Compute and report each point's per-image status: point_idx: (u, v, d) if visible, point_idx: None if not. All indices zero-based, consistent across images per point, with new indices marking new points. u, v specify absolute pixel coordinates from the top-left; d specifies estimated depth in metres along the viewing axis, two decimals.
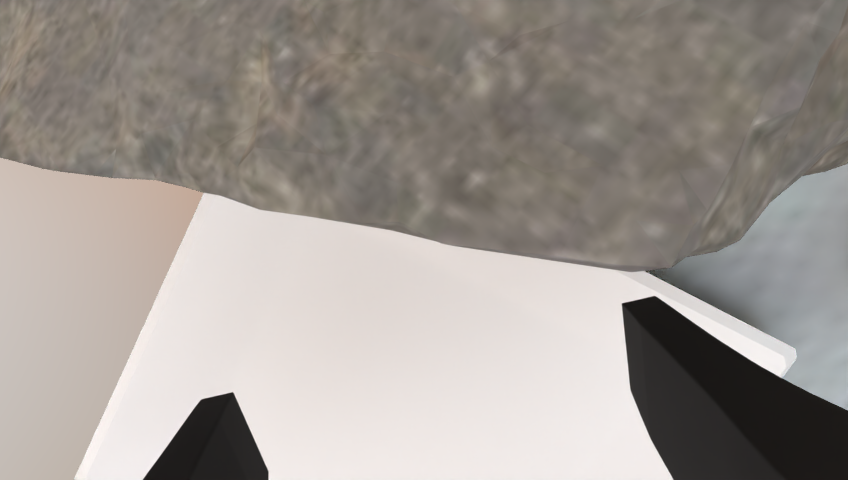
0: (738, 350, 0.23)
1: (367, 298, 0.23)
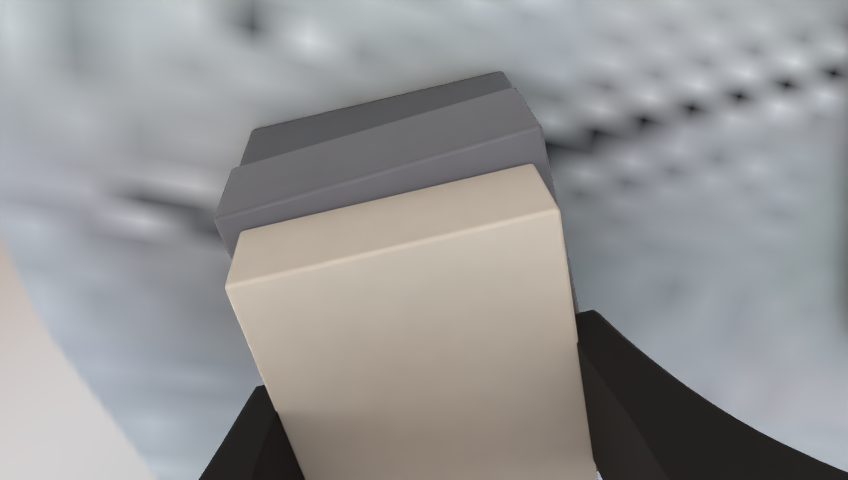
0: None
1: None
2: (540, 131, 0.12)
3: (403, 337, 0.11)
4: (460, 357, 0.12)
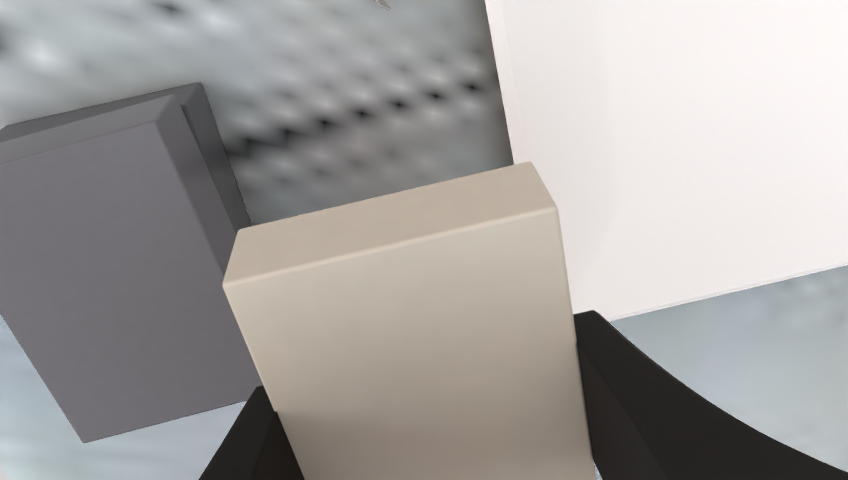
0: None
1: None
2: (156, 125, 0.16)
3: (400, 336, 0.11)
4: (458, 356, 0.12)
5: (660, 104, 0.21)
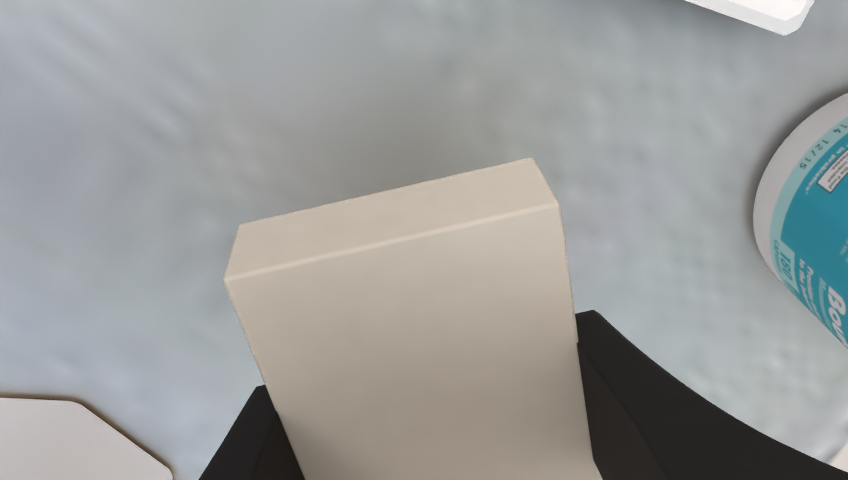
0: None
1: None
2: None
3: (401, 332, 0.11)
4: (459, 352, 0.12)
5: None
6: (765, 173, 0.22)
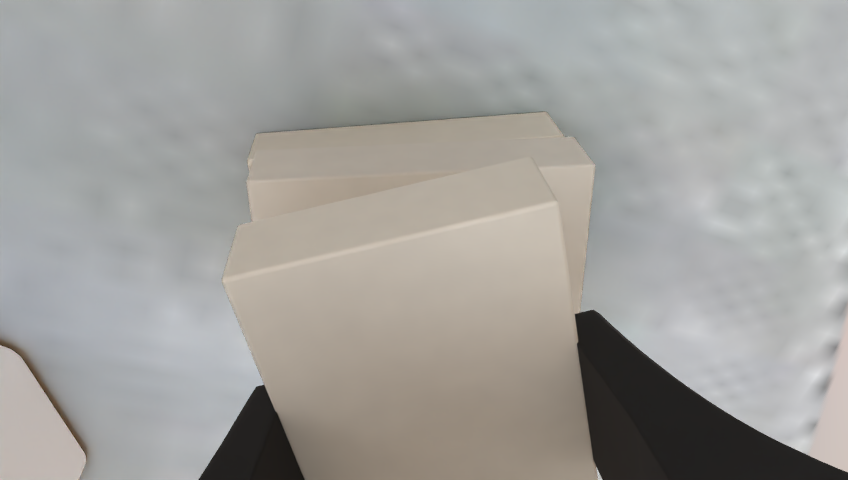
0: None
1: None
2: None
3: (401, 332, 0.11)
4: (459, 352, 0.12)
5: None
6: None
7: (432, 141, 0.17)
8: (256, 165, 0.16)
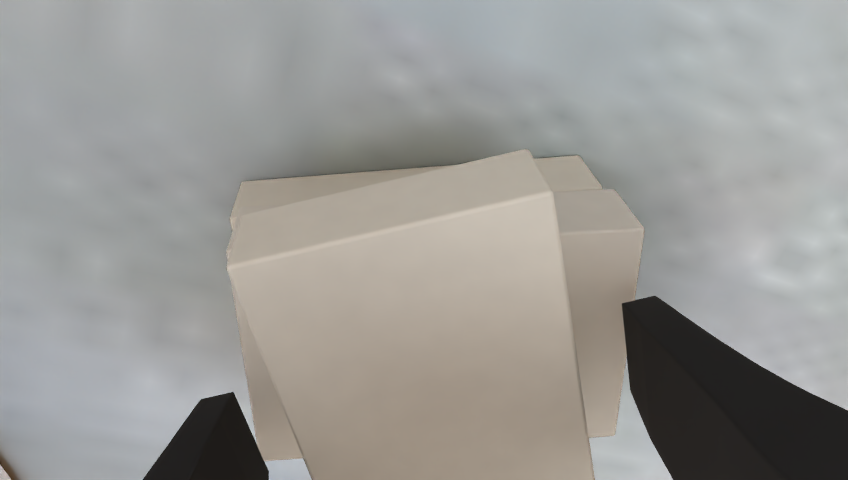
0: None
1: None
2: None
3: (400, 318, 0.12)
4: (456, 338, 0.12)
5: None
6: None
7: None
8: None
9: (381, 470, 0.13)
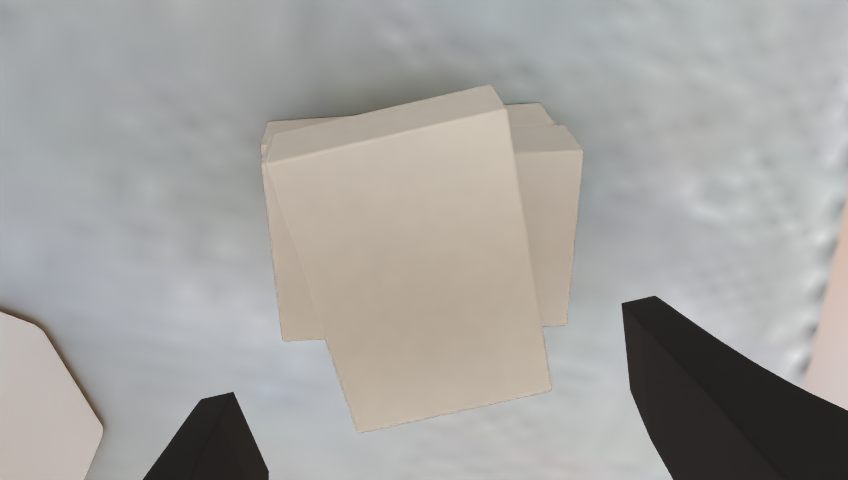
0: None
1: None
2: None
3: (394, 208, 0.16)
4: (436, 225, 0.16)
5: None
6: None
7: None
8: (269, 149, 0.17)
9: (379, 334, 0.17)
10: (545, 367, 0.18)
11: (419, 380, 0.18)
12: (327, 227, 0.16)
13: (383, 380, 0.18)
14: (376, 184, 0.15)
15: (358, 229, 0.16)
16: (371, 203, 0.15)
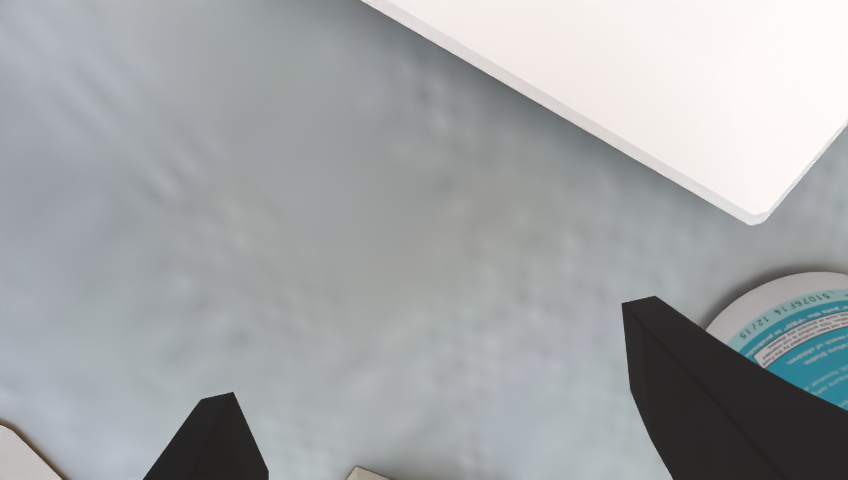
0: (779, 162, 0.20)
1: None
2: None
3: None
4: None
5: None
6: (708, 330, 0.24)
7: None
8: None
9: None
10: None
11: None
12: None
13: None
14: None
15: None
16: None
